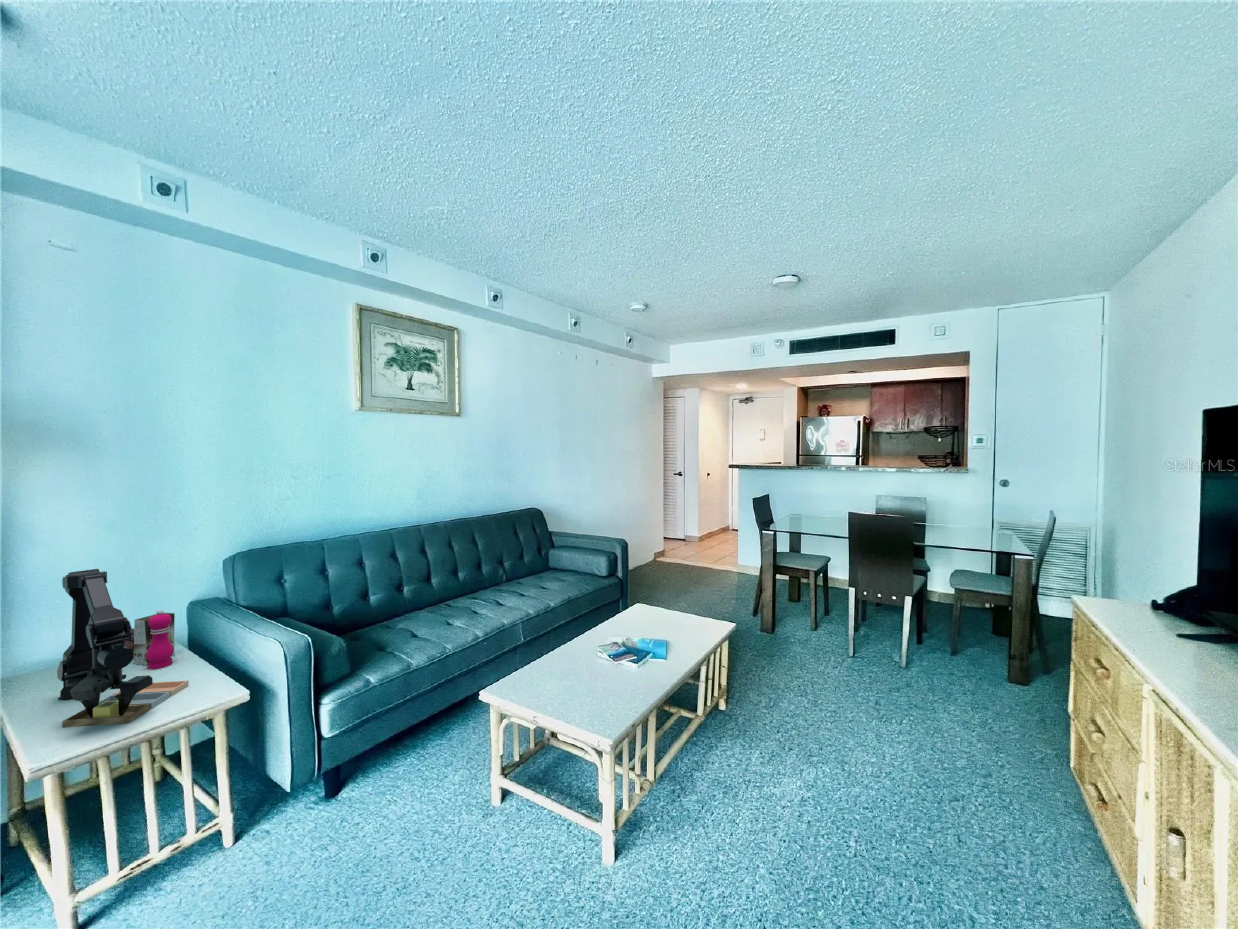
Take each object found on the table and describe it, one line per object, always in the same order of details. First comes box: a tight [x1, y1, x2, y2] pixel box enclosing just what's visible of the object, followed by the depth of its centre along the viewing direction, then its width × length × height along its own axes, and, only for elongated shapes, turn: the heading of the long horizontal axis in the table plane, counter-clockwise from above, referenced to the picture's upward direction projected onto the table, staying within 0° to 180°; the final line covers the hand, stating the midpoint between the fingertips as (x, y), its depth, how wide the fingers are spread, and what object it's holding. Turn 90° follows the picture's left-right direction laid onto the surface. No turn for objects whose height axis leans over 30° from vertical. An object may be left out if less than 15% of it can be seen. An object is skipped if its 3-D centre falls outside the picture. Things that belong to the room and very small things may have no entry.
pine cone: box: [113, 628, 134, 653], centre depth 178 cm, size 18×10×10 cm, turn 54°
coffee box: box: [133, 612, 176, 666], centre depth 175 cm, size 9×6×16 cm
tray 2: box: [99, 692, 171, 710], centre depth 142 cm, size 16×7×2 cm, turn 99°
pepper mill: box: [146, 609, 175, 670], centre depth 170 cm, size 7×7×20 cm
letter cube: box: [93, 700, 119, 718], centre depth 134 cm, size 4×4×4 cm
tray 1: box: [61, 704, 151, 728], centre depth 134 cm, size 16×7×2 cm, turn 99°
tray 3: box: [111, 680, 190, 698], centre depth 149 cm, size 16×7×2 cm, turn 99°
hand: (107, 716), depth 134 cm, fingers open, 7 cm apart
